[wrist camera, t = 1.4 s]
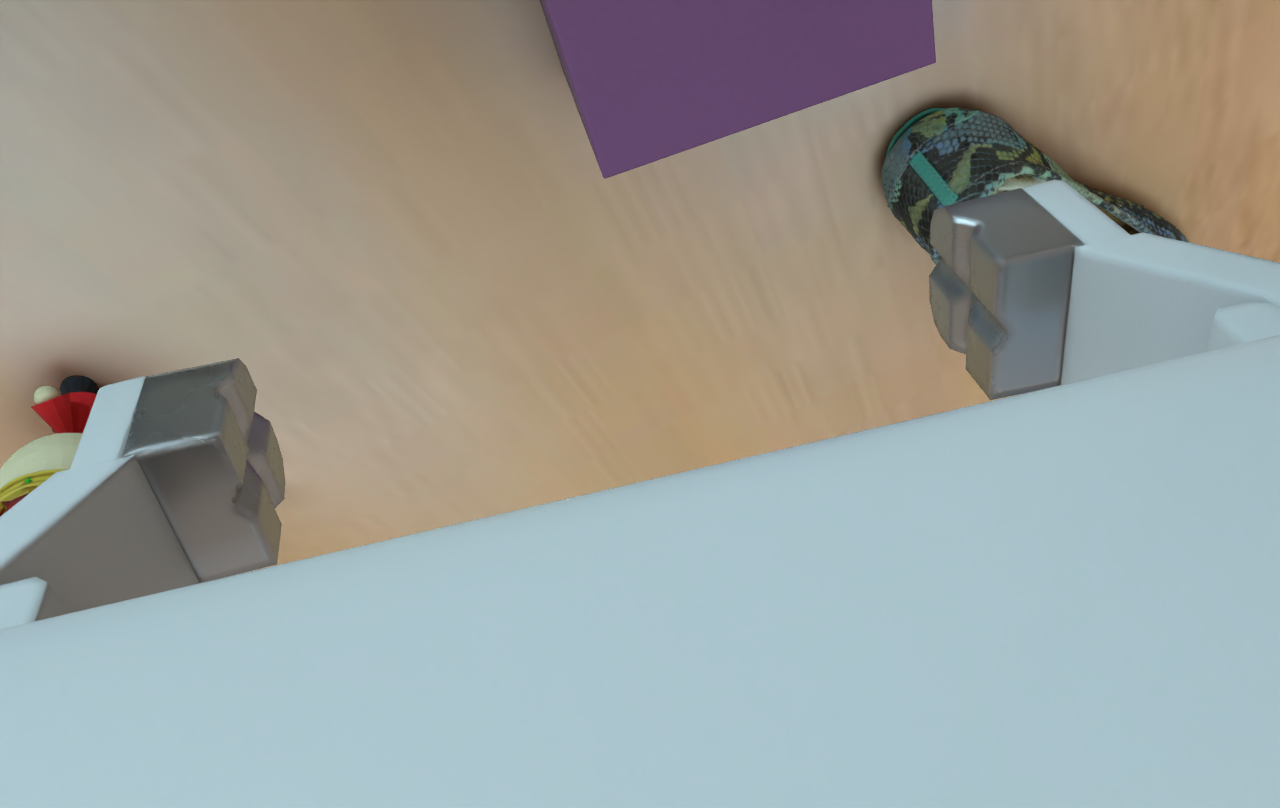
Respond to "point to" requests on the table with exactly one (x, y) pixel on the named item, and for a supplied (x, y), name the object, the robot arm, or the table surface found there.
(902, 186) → the ballet flat
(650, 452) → the table surface
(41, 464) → the toy
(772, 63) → the folder lid
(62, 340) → the table surface
